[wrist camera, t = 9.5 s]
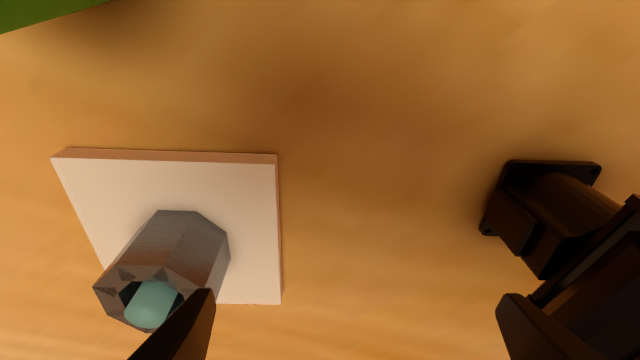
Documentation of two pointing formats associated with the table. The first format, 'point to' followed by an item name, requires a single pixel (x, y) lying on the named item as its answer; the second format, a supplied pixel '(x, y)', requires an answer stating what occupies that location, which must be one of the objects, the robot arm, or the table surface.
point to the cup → (38, 11)
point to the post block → (183, 195)
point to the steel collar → (166, 261)
